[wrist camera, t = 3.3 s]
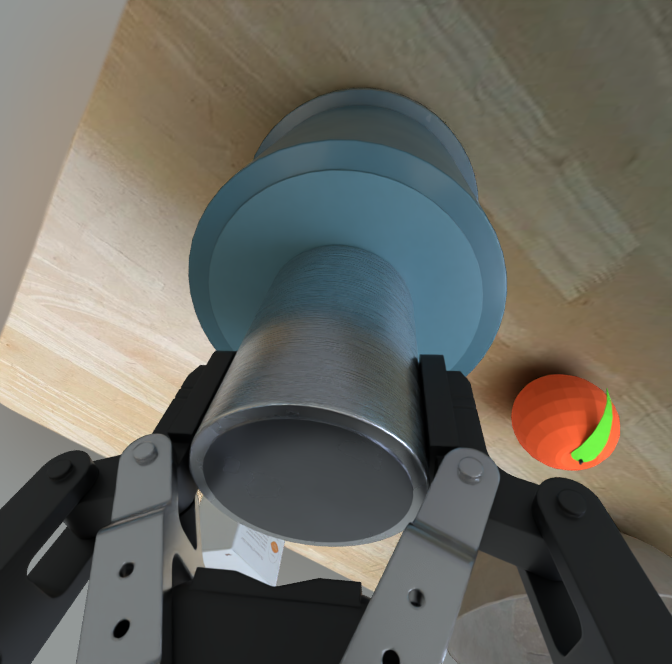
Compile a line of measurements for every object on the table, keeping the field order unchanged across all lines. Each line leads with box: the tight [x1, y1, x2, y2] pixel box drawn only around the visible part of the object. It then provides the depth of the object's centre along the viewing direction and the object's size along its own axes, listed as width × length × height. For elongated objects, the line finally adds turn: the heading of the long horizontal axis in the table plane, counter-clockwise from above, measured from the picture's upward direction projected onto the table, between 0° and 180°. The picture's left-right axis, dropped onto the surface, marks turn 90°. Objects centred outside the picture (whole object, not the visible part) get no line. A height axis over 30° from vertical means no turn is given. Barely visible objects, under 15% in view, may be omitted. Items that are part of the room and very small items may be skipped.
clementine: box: [511, 374, 620, 470], centre depth 28 cm, size 8×7×7 cm
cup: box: [189, 245, 430, 547], centre depth 13 cm, size 6×6×8 cm
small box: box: [199, 495, 285, 586], centre depth 38 cm, size 8×6×10 cm
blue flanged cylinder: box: [188, 88, 507, 377], centre depth 20 cm, size 14×14×11 cm
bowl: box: [447, 533, 672, 664], centre depth 42 cm, size 28×28×10 cm
